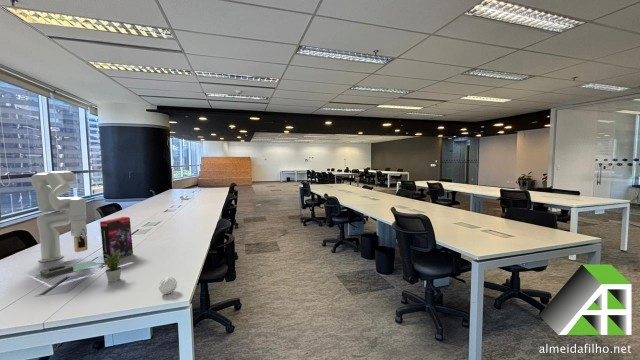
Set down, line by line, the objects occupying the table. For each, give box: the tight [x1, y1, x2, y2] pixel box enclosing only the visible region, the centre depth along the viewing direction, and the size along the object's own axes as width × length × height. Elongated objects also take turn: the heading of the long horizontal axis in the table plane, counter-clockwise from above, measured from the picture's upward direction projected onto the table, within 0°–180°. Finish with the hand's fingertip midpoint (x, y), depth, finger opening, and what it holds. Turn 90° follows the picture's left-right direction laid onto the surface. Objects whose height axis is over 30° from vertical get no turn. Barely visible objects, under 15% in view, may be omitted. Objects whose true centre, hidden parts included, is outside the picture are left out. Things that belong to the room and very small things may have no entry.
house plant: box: [97, 250, 126, 283], centre depth 150 cm, size 14×14×16 cm
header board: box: [35, 260, 100, 280], centre depth 164 cm, size 13×26×4 cm, turn 151°
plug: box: [73, 234, 89, 253], centre depth 169 cm, size 4×6×9 cm, turn 151°
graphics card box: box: [99, 216, 134, 261], centre depth 186 cm, size 17×7×27 cm, turn 168°
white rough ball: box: [158, 276, 178, 295], centre depth 132 cm, size 8×8×8 cm
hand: (80, 246), depth 168 cm, fingers closed on plug, 3 cm apart
